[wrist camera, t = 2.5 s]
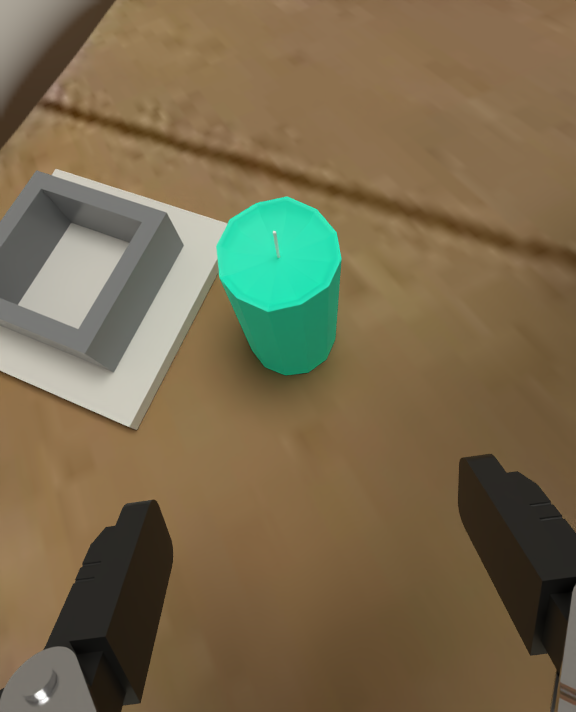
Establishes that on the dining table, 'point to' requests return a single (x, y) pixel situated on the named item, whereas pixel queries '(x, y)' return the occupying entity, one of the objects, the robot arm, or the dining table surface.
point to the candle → (283, 282)
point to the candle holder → (99, 290)
